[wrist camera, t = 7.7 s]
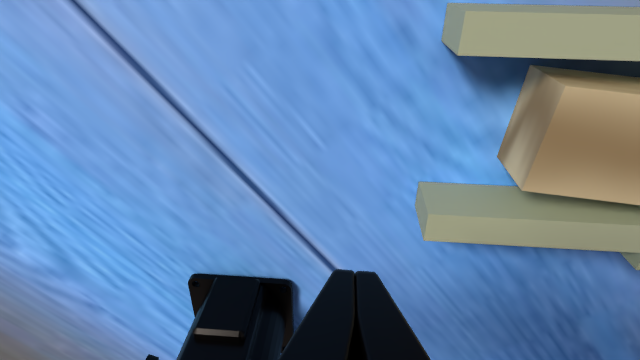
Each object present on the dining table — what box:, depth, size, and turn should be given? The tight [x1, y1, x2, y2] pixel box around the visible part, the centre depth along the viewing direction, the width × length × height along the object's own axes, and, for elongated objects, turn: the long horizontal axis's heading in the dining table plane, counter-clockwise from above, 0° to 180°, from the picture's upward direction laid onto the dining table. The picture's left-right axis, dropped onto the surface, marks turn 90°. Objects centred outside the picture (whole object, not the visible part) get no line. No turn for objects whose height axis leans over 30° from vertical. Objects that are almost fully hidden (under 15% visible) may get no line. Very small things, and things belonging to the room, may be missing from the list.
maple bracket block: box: [497, 65, 640, 205], centre depth 17 cm, size 4×6×4 cm
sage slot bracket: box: [415, 3, 640, 270], centre depth 17 cm, size 12×13×3 cm
